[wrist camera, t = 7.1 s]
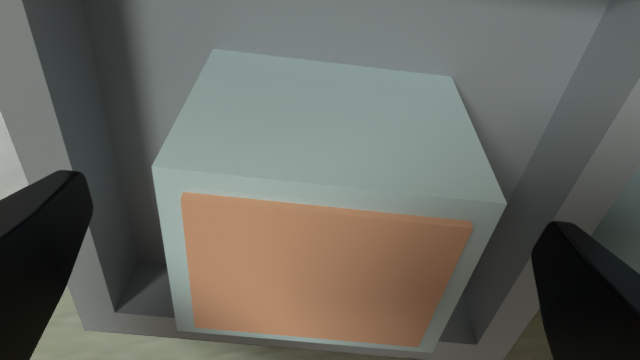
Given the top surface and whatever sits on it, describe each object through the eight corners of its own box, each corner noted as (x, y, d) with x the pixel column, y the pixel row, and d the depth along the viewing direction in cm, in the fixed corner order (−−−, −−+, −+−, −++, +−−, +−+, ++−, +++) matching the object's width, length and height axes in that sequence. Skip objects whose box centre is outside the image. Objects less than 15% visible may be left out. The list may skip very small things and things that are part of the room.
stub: (407, 214, 12) (433, 359, 9) (218, 194, 12) (174, 337, 9) (451, 76, 10) (510, 210, 6) (212, 49, 9) (148, 174, 6)
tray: (477, 293, 15) (499, 366, 13) (119, 259, 15) (84, 330, 13) (706, -131, 8) (834, -112, 6) (-7, -234, 7) (-139, -253, 5)
